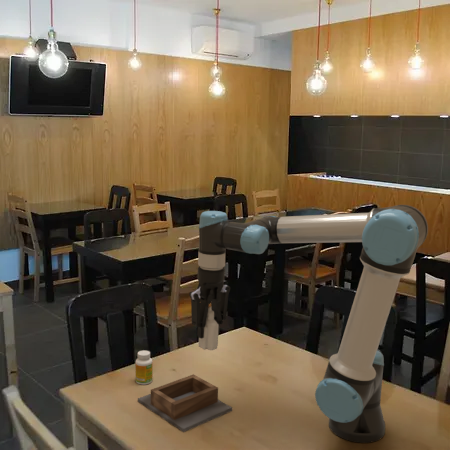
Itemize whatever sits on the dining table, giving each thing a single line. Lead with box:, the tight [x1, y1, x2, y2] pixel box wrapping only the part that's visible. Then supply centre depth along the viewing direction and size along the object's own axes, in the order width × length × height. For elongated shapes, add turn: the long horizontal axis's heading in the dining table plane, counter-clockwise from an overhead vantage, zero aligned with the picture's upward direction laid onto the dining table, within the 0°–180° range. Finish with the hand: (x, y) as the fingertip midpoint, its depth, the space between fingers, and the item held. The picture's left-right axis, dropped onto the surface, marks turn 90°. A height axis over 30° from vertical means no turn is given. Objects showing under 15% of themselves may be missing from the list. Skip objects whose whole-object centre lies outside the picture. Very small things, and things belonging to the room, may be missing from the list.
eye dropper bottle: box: [205, 306, 219, 351], centre depth 158 cm, size 4×6×12 cm
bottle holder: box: [137, 373, 233, 433], centre depth 163 cm, size 22×18×6 cm
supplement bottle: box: [135, 349, 153, 385], centre depth 178 cm, size 5×5×10 cm
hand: (208, 346), depth 159 cm, fingers closed on eye dropper bottle, 3 cm apart
